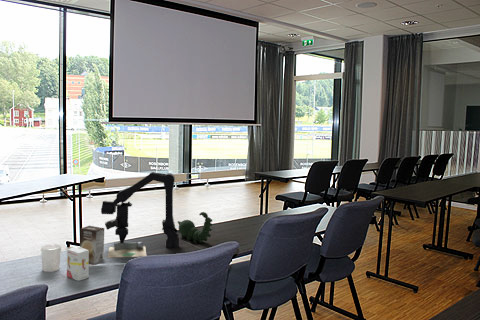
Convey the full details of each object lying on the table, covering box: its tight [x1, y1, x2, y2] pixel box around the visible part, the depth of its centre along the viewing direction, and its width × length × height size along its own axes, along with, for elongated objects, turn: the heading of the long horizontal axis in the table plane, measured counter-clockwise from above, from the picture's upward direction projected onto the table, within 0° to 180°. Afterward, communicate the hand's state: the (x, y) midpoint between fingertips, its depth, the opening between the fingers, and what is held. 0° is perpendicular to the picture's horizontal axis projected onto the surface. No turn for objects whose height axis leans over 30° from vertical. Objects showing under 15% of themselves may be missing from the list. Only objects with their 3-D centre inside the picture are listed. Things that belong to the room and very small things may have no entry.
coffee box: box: [79, 225, 105, 266], centre depth 189 cm, size 9×6×16 cm
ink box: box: [66, 246, 90, 281], centre depth 170 cm, size 9×5×12 cm, turn 55°
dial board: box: [107, 245, 147, 259], centre depth 204 cm, size 18×17×1 cm
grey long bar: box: [113, 241, 144, 249], centre depth 208 cm, size 14×4×3 cm, turn 105°
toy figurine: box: [177, 211, 213, 244], centre depth 232 cm, size 9×19×25 cm
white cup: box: [40, 243, 62, 273], centre depth 177 cm, size 8×8×10 cm
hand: (121, 244), depth 213 cm, fingers closed
